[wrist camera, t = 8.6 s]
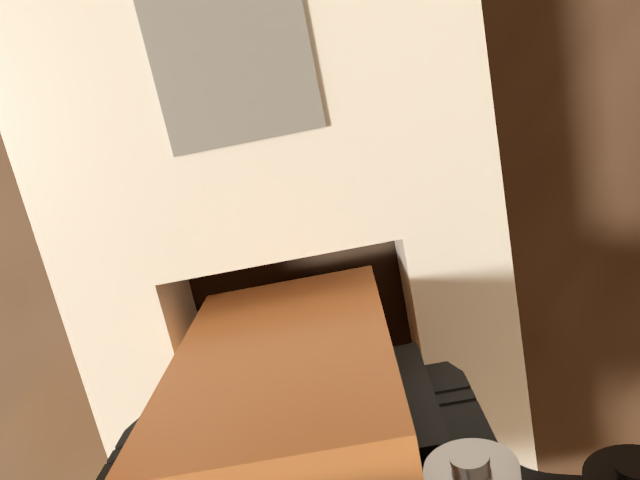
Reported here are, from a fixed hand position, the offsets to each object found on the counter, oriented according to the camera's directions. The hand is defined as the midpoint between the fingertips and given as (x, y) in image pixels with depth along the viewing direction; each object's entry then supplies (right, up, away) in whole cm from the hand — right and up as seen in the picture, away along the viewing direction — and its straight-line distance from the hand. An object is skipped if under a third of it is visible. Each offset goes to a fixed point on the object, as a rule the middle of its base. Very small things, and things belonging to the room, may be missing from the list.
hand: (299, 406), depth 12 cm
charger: (0, +1, +2) cm, 3 cm away
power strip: (-1, +4, +3) cm, 5 cm away
